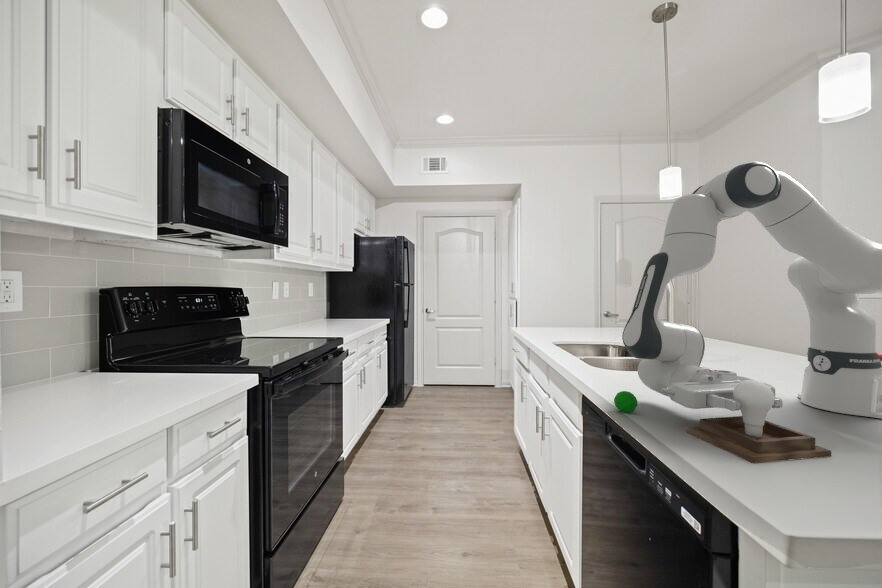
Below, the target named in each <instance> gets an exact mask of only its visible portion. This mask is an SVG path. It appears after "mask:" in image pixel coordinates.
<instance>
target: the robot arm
mask: <svg viewBox="0 0 882 588" xmlns="http://www.w3.org/2000/svg"><path fill="white" fill-rule="evenodd" d="M669 210H670V211H669V214H668V217H667V220H666V224H665V230H664V235H663V239H662V240H663V241H662V244H661V247H660V249H659V250H658V252H657V253H655V254H654V255H652V256H651V257H650V259H649V260H648V262H647V264H646V266H645V269H644V272H643V275H642V277H641V281H640V284H639V287H638V291H637V295H636V298H635V301H634V304H633V307H632V310H631V313H630V316H629V318H628V320H627V322H626V324H625V327H624V328H623V331H622V336H621V337H622V343H623V345H624V347H625V349H626V350H627V351H628V353H629V354H630V355H631V356H632V357H633V358H635V359H639V360H640V362H639V363H638V365H637V375H638V378H639V379H640V382H641V383H642V384H643V385H644V386H646V387H647V388H648V389H650V390H652V391H654V392H656V393H658V394H660V395H663V396H665V397H669V399H670V400H671V401H672V402H673V403H675V404H676V403H677V404H679V405H680V406H683V407H684V408H688V409H693V410H697V409H698V410H699V409H712V408H715V409H717V408H718V409H723V410H725V409H727V410H729V411H732V412H735V411H741V410H740V409H741V407H740V405H741V403H740V402H739V401H737V400H734V397H733V390H734V388H735V386H736V385H737V384H738V383H739V382H742V381H744V380H754V379H752V378H750V377H749V378H748V377H745V376H740V375H737V373H736V372H734V371H730V370H722V369H720V370H719V369H712V368H707V367H704V366H703V367H701V364H702V361H703V358H704V355H705V348H706V347H705V344H706V343H705V339H704V336H703V334H702V333H701V331H700V330H699V329H698V328H697V327H696V326H694V325H690V324H685V323H679V322H674V321H673V322H671V321H667V320H661V319H659V312H660V308H661V305H662V301H663V297H664V294H665V291H666V288H667V286H668V284H669V283H670V282H671V281H672V280H673V279H677V278H679V277H682V276H686V275H692V274H695V273H699V271H702V270H704V269H705V268H706V267H708V265H709V264H711V262H712V260H713V258H714V255H715V252H716V247H717V246H716V245H717V235H718V225H719V223H720V222H721V221H725V220H728V219H732V218H735V217H738V216H740V215H742V214H743V213H746V212H748V213H750V214H751V215H753V216H754V217H755V218H756V220H757V221H758V222H759V224H761V225H762V227H763V228H764V229H765V230H766V231H767V232H768V233H769V234H770V235H771V236H772V238H773V239H774V240H775V241H776V242H777V243H778V244H779V245H780V246H781V248H782V249H784V250H786V251H788V252H790V253H792V254H796V255H798V256H799V257H797V258H795V259H794V260H793V261H792V262H791V263H790V264H789V266H788V269H787V279H788V281H789V282H790V284H791V285H792V286H793V287H794V288H795V289H796V290H798V292H799V293H800V295H801V296H802V298H803V301H804V304H805V306H806V309H807V312H808V317H809V331H810V333H809V334H810V335H809V339H810V343H809V347H808V348H807V352H806V355H807V361H808V363H809V364H808V365H807V366H806V367H805V369H804V372H803V379H802V385H801V392H798V393H797V397H798V399H800V402H801V403H803V404H804V405H806V406H810V407H813V408H815V409H820V410H824V411H829V412H833V413H839V414H846V415H853V416H862V417H870V418H875V419H881V420H882V353H880V352H876V336H877V335H876V331H877V330H876V326H877V323H876V320H875V318H874V317H873V316H872V315H871V314H870V313H868V312H867V311H865V310H864V309H863V307H862V306H861V304H860V302H859V301H858V298H857V295H858V294H859V295H862V294H863V295H870V294H871V295H872V294H877V293H882V243H878V242H876V241H873V240H871V239H868V238H867V237H865V236H863V235H861V234H859V233H858V232H856V231H854V230H852V229H851V228H849V227H847V226H846V225H844V223H842V222H840V221H839V220H838V219H836V218H835V217H834V215H832V214H831V213H830V212H829V211H828V210H827V209H826V208H825V207H824V206H823V205H822V203H820V202H819V200H817V198H815V196H814V195H813V194H812V193H811V192H810V191H809V190H808V189H806V188H805V187H804V186H803V185H802V184H801V183H800V182H798V181H796V180H795V179H794V177H793V178H792V176H790V175H788V174H786V173H785V172H783V171H778V170H775V169H774V168H773V167H771V166H770V165H768V164H767V163H764V162H760V161H749V162H744V163H742V164H738V165H736V166H735V167H732V169H728V170H727V171H724V172H722V173H720V174H718V175H716V176H715V177H713V178H712V179H710V180H709V181H708V182H706V183H704V185H700V186H699V187H698V188H696V189H695V190H694V191H693V192H692V193H691V194H686V195H682V196H680V197H679V198H677V199H676V200H675V201H674V203H672V205H671V208H670V209H669ZM761 382H762V381H761ZM762 383H764V384H766V385H767V386H768V387H769V388H770V389H771V390H772V392H773V394H774V397H775V401H774V404H773V406H772V407H771V409H780V408H783V400H782V398H780V397H776V389H775V387H774V386H773V385H771V384H769V383H767V382H766V383H765V382H762Z"/></svg>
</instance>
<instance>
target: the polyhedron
mask: <svg viewBox="0 0 882 588" xmlns="http://www.w3.org/2000/svg"><path fill="white" fill-rule="evenodd" d="M613 401H614V403H613V404H614V405H615V408H617V410H618V411H620V412H621V413H625V414H628V413H633V412H634V411H635V410H636V409H637V407H638V400H637V397H636V396H635V395H634V394H633V393H632V392H630V391H627V390H623V391H619V392H617V393H616V395H615V397H613Z"/></svg>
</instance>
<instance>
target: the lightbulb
mask: <svg viewBox="0 0 882 588" xmlns="http://www.w3.org/2000/svg"><path fill="white" fill-rule="evenodd" d="M764 383H765V382H763V383H762V381H759V380H756V379H753V380H744V381H742V382H739V383H738V384H737V385H736V386H735V388H734V390H733V397H734V400H737V401H739V402H740V403H741V405H740V407H741V409H740V410H739V411H740V412H741V416H743V422H744V423H745V433H746V434H747V435H749V436H750V437H752V438H754V439H757V438H758V437H761V436H762V433H763V426H764V423H765V421H766V417H767V414H768V413H769V411H770V410H771V409H772V406H773V404H774V401H775V397H776V396H775V397H774V394H773V392H772V390H771V389H770V388H769V387H768V386H767V385H766V384H767V383H766V384H764Z"/></svg>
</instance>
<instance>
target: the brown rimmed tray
mask: <svg viewBox="0 0 882 588" xmlns="http://www.w3.org/2000/svg"><path fill="white" fill-rule="evenodd" d="M686 433H688V434H690V435H692V436H694V437H697V438H698V439H701V440H702V441H705V442H706V443H709V444H711V445H713V446H715V447H718V448H720V449H722V450H724V451H727V452H728V453H731V454H733V455H735V456H737V457H739V458H742V459H744V460H745V461H748V462H749V463H752V464H758V463H768V462H770V463H771V462H780V461H782V460H783V461H790V460H789V459H794V460H802V459H801V458H806V459H815V457H817V458H827V456H828V457H832V450H831V449H828V448H826V447H822V446H820V445H817V443H816V442H817V441H816V438H817V437H814V436H812V435H809V434H805V433H802V432H800V431H797V430H794V429H791V428H788V427H787V426H783V425H779V424H776V423H773V422H772V421H767V420H765V423H764V426H763V433H762V436H761V437H758V438H757V439H754V438H752V437H750V436H749V435H747V434H746V433H745V423H744V422H743V416H742V415H738V416H736V415H735V416H722V417H721V416H720V417H708V418H699V426H689V427H686Z"/></svg>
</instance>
